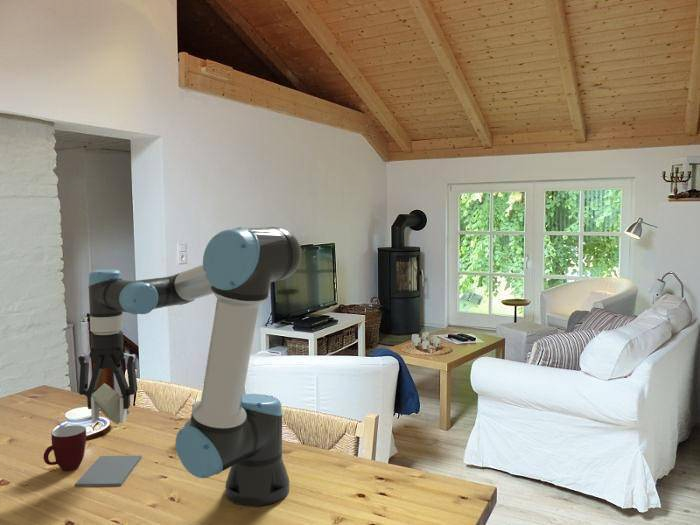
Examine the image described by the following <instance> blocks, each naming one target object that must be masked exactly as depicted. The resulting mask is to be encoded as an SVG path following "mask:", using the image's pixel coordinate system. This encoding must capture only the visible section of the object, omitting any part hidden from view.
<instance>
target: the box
mask: <svg viewBox="0 0 700 525" xmlns="http://www.w3.org/2000/svg"><path fill="white" fill-rule="evenodd" d="M91 396H92V398H93V399H94V401H95V402H96V403H97V405H98V406H99V410H101V413H103V414H104V416H105V417H106V418H107V419H109V420H110V421H112V422H113V423H114V424H115V425H119V424H120V397H121V396H120V395H119V393H118V392H117V391H116V390H115V389H114V388H112V387H111V386H110V385H108V384H106V383H103V384H102V385H101V386H99V388H96V391H95V392H94V393H93V394H92V395H91ZM128 414H130V411H129V408H128V409H127V415H128Z"/></svg>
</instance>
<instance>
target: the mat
mask: <svg viewBox="0 0 700 525" xmlns="http://www.w3.org/2000/svg"><path fill="white" fill-rule="evenodd" d="M141 459H142V455H140V454H139V455H99V456H98V458H97V459H96V460H95V461H94V462H93V464H92V465H90V467H88V469H87V470H85V472H84V474H82V476H81V477H80V478H79V479H78V480H77V481H76V482H75V483H74V487H121V486H122V485H123V484H124V483H125V481H126V480H127V479H128V477H129V476H130V474H131V473H132V472H133V470H134V469H135V467H136V466H137V465H138V463H139V462H140V461H141Z"/></svg>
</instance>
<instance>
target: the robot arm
mask: <svg viewBox="0 0 700 525" xmlns="http://www.w3.org/2000/svg"><path fill="white" fill-rule="evenodd" d="M301 260H302V247H301V244H300V242H299V241H298V239H297V238H296V236H295V235H293V233H291V232H290V231H289V230H287V229H284V228H282V227H278V226H269V227H236V228H235V227H234V228H232V229H225V230H222V231H220V232H217V234H216V235H213V237H211V239H210V240H209V241H208V243H207V245H206V247H205V248H204V252H203V257H202V264H201V265H198V266H195V267H192V268H191V269H186V270H185V271H184V270H183V271H181V272H178V273H175V274H173V275H170V276H163V277H156V278H146V279H139V280H126V279H125V280H124V279H123V277H122V272H121V271H120V270H118V269H113V268H111V269H108V268H107V269H96V270H92V271H90V273H89V274H88V286H87V287H88V300H89V301H88V306H89V329H90V332H91V333H90V335H89V336H90V348H91V349H90V352H89V353H83V354H81V355H80V356H78V362H79V366H80V367H79V383H78V384H79V387H78V388H79V389H78V393H79V395H80V396H81V395H82V396H85V397H86V398H87V400H86V401H87V409H88V410H91V424H95V423H96V422H98V421H99V420H100V413H99V411H100V408H99V406H98V405H97V403H96V402H95V401H94V399H93V398H92V396H91V395H92V394H93V393H94V392H95V391H96V390H97V389H98V388H97V387H98V384H99V382H100V378H101V375H102V373H103V370H104V369H108V370H111V371H112V373H113V374H114V377H115V380H116V382H117V385H118V387H119V389H120V393H121V396H120V423H121V424H124V423H125V422H126V421H127V419H128V414H127V409H128V410H129V408H130V407H131V396H133V395H135V394H136V392H137V391H138V382H137V371H136V360H137V354H135V353H132V354H129V353H127V352H126V351H125V349H124V332H123V331H122V330H123V328H124V326H123V323H124V321H123V313H129V314H132V315H147V314H149V313H151V312H152V311H153V310H156V309H161V308H165V307H173V306H181V305H186V304H188V303H189V304H190V303H192V302H194V301H195V300H197V299H199V298H203V297H206V296H209V295H214V296H215V298H216V303H215V309H214V311H215V312H214V316H213V323H212V329H211V330H212V331H211V336H210V342H209V348H208V353H207V354H208V355H207V359H206V360H207V361H206V367H205V374H204V380H203V386H202V392H201V399H200V401H201V402H199V403H197V404H196V405H195V406H194V407H193V409H192V410H191V415H190V418H191V420H190V424H189V425H188V426H183V427H182V428H181V429H180V430H178V432H177V434H176V436H175V450H176V453H177V456H178V459H179V460H180V463H181V464H182V466H183V467H184V469H186V471H187V472H188V473H189V474H191V475H192V476H194V477H196V478H199V479H208V478H211V477H213V476H215V475H219V474H221V473H222V472H224V471H226V470H227V469H229V472H228V475H227V478H226V480H225V496H226V498H227V499H228V501H230V502H232V503H233V504H237V505H239V506H245V507H261V506H262V507H263V506H268V505H271V504H274V503H278V502H280V501H281V500H283V499H284V498H285V497H287V495H288V494H289V492H290V478H289V474H288V472H287V469H286V466H285V463H284V460H283V410H282V409H283V408H282V402H281V400H279V399H278V398H277V397H275V396H272V395H267V394H263V393H262V394H261V393H244V392H245V387H246V380H247V375H248V370H249V369H248V368H249V364H250V359H251V352H252V346H253V342H254V341H253V340H254V335H255V329H256V324H257V317H258V312H259V307H260V305H261V304H262V303H264V302H266V301H267V300H268V297H269V294H270V288H271V283H273V282H274V283H275V282H278V281H283V280H286V279H288V278H289V277H291V276H292V275H293V274H294V273H296V271H297V270H298V268H299V266H300V265H301ZM123 359H124V360H125V361H124V362H125V363H126V371H127V378H126V376H125V373H124V371H123V365H122V363H121V362H122V360H123ZM91 360H92V362H93V363H94V368H93V373H92V376H91V379H90V382H89V372H90V361H91ZM127 380H128V381H127ZM120 423H119V424H120Z"/></svg>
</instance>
